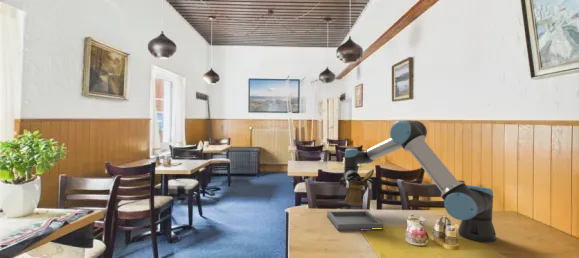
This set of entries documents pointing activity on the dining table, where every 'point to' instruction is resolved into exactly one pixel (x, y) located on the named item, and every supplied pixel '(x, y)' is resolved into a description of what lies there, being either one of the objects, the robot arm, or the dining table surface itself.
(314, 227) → the dining table surface
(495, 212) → the dining table surface
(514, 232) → the dining table surface
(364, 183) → the turkish coffee pot
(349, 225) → the grey tray
